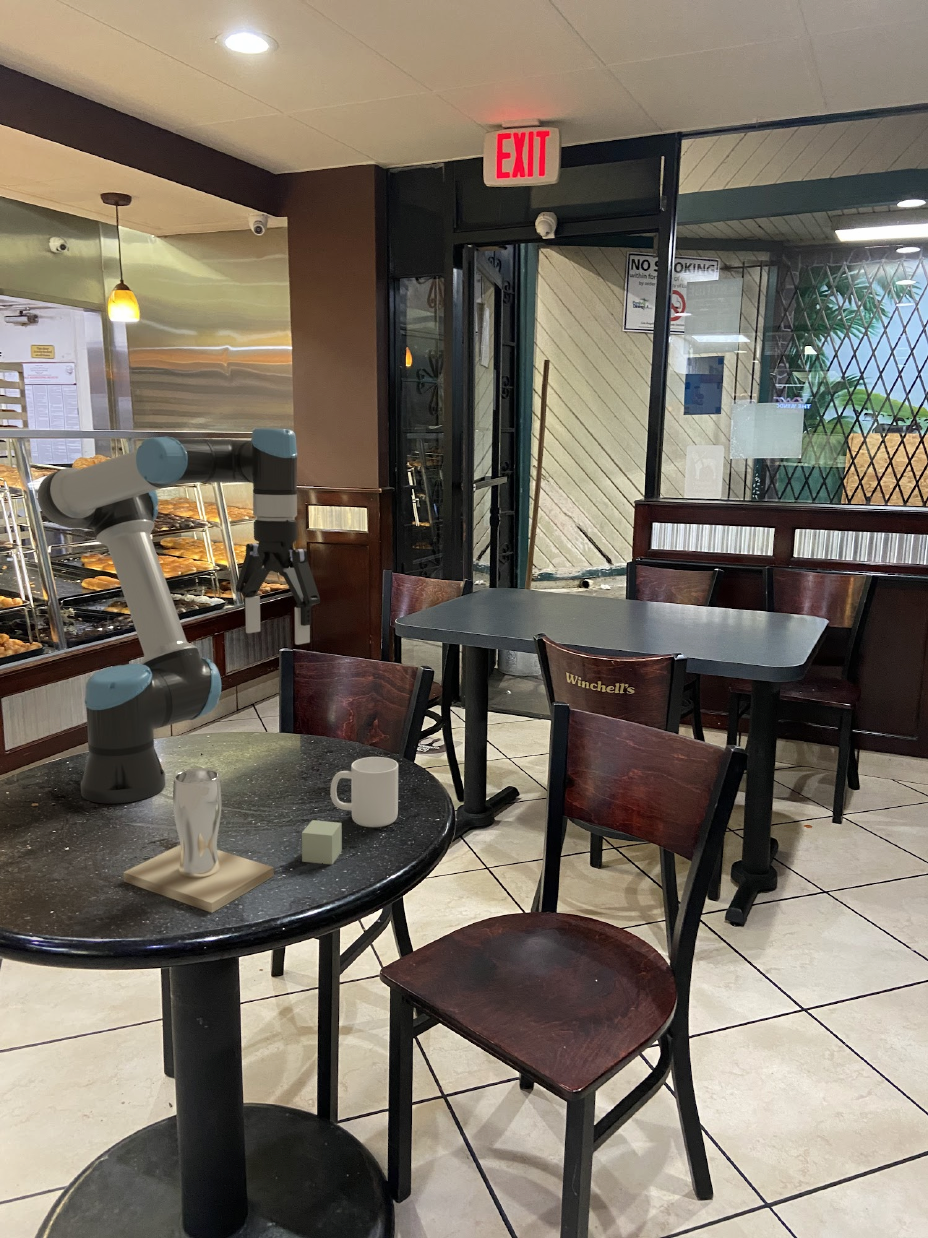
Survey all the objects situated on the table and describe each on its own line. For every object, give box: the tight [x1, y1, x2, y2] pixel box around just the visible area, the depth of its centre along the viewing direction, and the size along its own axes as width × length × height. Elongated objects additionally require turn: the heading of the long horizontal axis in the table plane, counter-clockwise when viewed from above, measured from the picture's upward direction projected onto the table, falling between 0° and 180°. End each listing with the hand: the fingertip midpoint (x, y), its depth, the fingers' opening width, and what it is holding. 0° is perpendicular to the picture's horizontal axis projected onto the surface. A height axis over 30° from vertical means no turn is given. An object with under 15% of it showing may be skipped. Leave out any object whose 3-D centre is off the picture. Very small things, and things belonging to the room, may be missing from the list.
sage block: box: [301, 819, 343, 865], centre depth 143 cm, size 5×5×5 cm
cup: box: [330, 756, 399, 828], centre depth 158 cm, size 8×12×10 cm
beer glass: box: [172, 767, 222, 878], centre depth 134 cm, size 7×7×15 cm
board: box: [123, 844, 275, 914], centre depth 135 cm, size 18×13×2 cm
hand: (277, 637), depth 159 cm, fingers open, 13 cm apart
